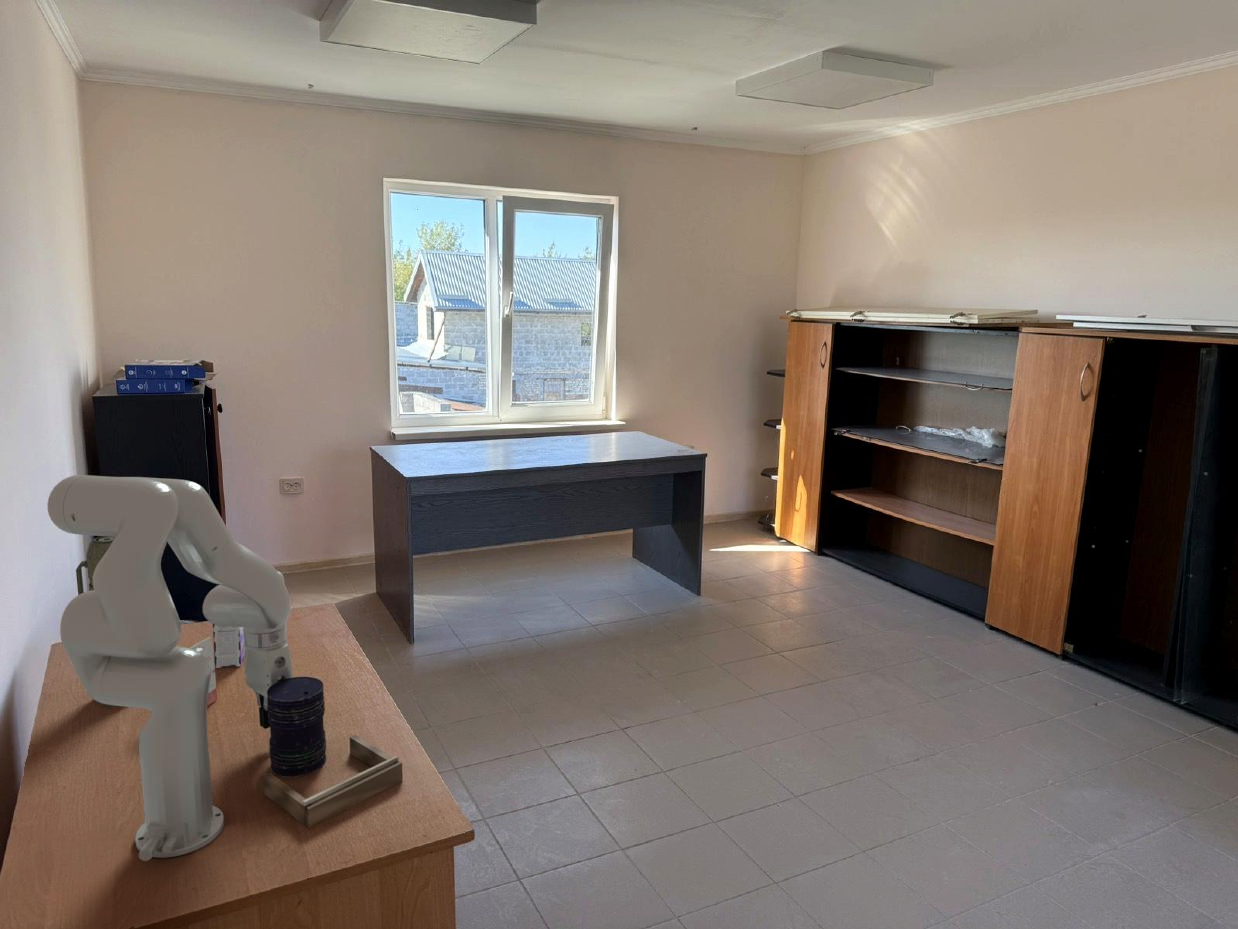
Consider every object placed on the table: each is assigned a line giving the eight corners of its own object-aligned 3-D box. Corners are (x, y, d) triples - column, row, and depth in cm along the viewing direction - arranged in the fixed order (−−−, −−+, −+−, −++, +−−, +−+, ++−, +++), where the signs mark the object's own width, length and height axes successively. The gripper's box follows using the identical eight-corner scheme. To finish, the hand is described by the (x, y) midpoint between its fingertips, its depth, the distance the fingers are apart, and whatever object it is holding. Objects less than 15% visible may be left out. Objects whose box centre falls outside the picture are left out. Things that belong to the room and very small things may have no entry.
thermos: (151, 700, 174) (138, 541, 167) (85, 710, 169) (69, 547, 162) (154, 682, 181) (142, 530, 175) (91, 691, 176) (76, 535, 170)
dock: (263, 793, 143) (262, 771, 142) (355, 751, 157) (354, 731, 156) (309, 828, 134) (308, 805, 133) (402, 780, 148) (402, 759, 147)
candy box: (223, 645, 202) (219, 581, 199) (249, 643, 204) (245, 580, 200) (214, 669, 189) (209, 601, 186) (242, 666, 191) (238, 599, 188)
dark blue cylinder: (258, 766, 151) (254, 691, 148) (302, 743, 159) (299, 671, 156) (294, 784, 146) (290, 706, 143) (338, 759, 154) (335, 685, 152)
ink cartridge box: (197, 697, 176) (192, 633, 173) (217, 700, 175) (213, 635, 172) (168, 716, 167) (163, 649, 165) (189, 719, 166) (184, 652, 164)
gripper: (305, 640, 153) (309, 730, 156) (263, 619, 162) (268, 705, 165) (267, 652, 147) (271, 746, 150) (226, 630, 156) (231, 719, 159)
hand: (269, 724), depth 158 cm, fingers closed
